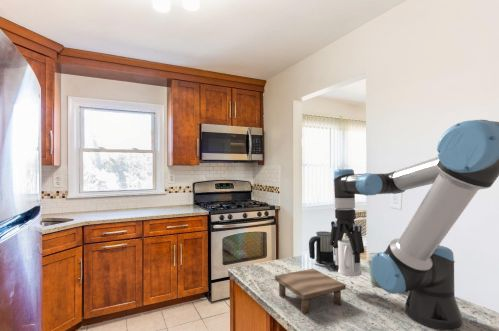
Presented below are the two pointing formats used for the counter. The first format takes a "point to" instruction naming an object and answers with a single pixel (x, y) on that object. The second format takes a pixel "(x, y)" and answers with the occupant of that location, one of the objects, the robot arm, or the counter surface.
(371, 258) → the coffee cup
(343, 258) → the mug
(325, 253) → the milk frother
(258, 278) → the counter surface
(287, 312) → the counter surface
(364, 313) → the counter surface
